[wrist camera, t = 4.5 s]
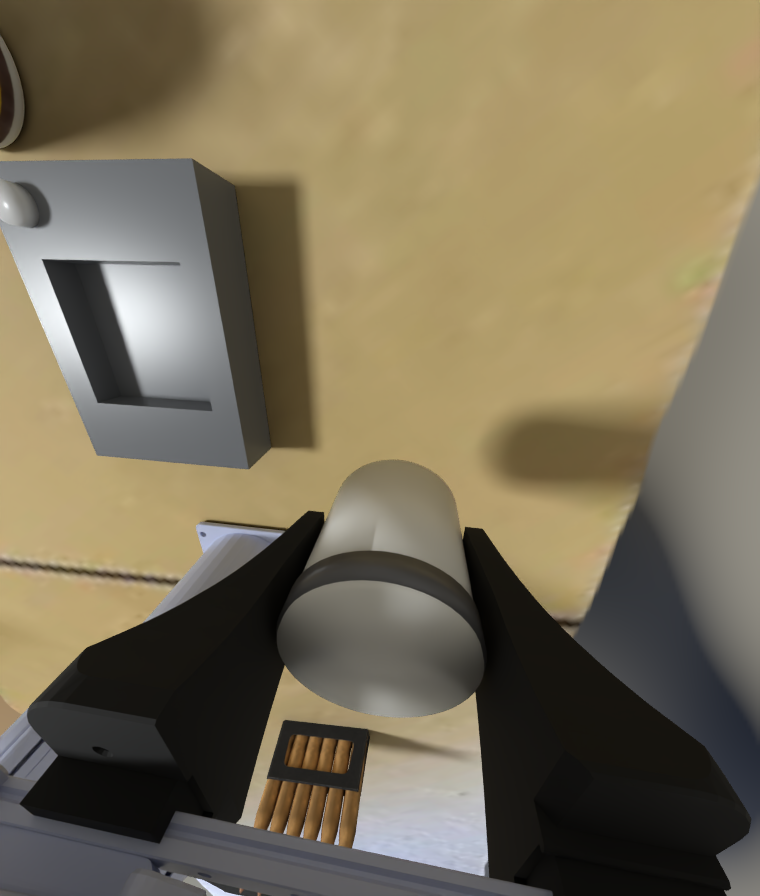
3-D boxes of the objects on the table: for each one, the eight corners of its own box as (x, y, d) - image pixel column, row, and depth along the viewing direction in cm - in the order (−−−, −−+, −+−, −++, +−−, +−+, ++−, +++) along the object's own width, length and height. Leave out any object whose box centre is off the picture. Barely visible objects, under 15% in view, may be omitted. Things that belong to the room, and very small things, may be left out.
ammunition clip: (286, 727, 38) (233, 894, 27) (283, 719, 37) (227, 887, 26) (369, 737, 36) (348, 918, 26) (368, 729, 36) (345, 912, 25)
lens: (450, 566, 14) (469, 733, 8) (335, 553, 14) (284, 701, 9) (469, 463, 11) (511, 602, 6) (331, 451, 12) (258, 570, 7)
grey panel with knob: (271, 447, 21) (243, 474, 17) (137, 436, 21) (87, 459, 18) (234, 186, 14) (180, 151, 11) (50, 186, 15) (-47, 155, 12)
